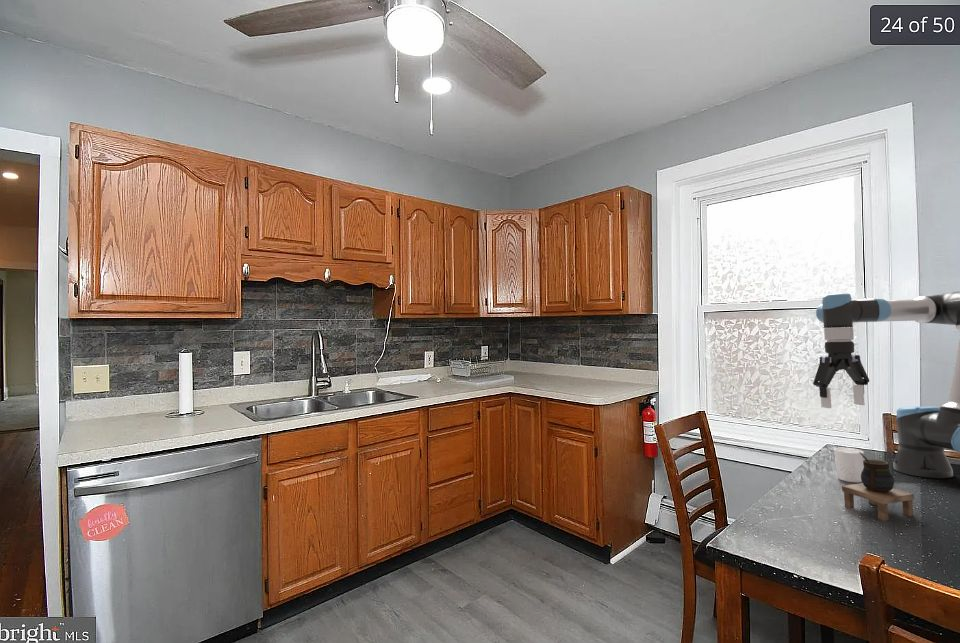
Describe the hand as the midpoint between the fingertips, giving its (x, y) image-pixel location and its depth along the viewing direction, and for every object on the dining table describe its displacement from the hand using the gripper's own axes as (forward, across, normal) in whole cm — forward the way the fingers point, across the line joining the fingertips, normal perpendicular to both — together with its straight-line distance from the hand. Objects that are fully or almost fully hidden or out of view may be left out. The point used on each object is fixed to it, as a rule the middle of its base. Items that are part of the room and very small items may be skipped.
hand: (843, 406), depth 147 cm
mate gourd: (+21, +10, +16) cm, 28 cm away
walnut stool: (+27, +10, +16) cm, 33 cm away
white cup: (+27, -10, -7) cm, 30 cm away
